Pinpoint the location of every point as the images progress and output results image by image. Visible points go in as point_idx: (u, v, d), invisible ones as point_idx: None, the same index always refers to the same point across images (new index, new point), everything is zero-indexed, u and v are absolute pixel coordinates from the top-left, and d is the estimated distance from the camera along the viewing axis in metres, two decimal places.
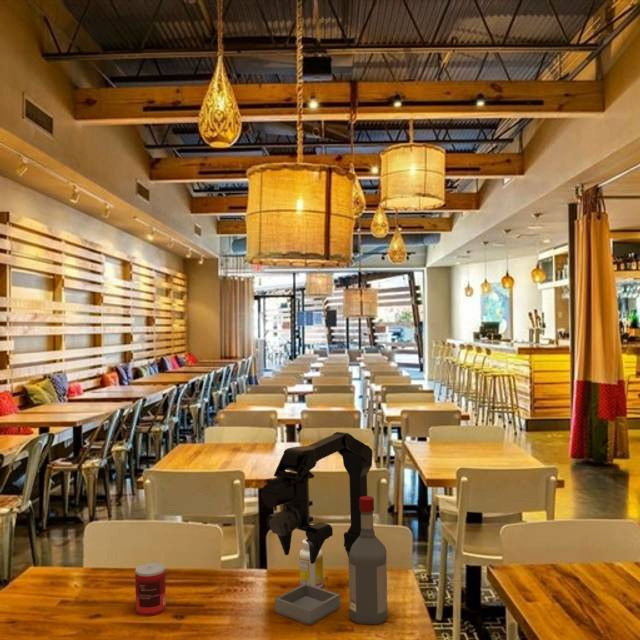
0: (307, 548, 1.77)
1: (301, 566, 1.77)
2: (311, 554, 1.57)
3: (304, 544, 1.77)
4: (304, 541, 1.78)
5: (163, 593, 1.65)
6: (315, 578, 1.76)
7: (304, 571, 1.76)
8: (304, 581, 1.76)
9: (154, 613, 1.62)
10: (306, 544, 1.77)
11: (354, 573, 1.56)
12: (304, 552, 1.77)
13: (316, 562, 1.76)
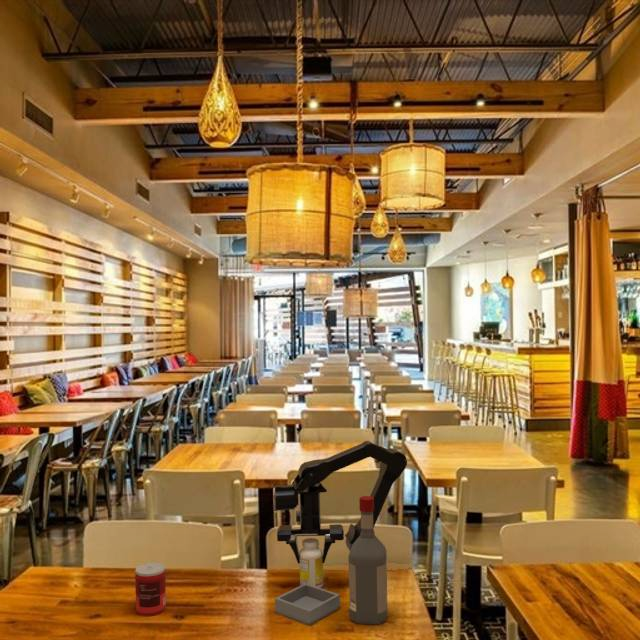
0: (307, 548, 1.77)
1: (301, 566, 1.77)
2: None
3: (304, 544, 1.77)
4: (304, 541, 1.78)
5: (163, 593, 1.65)
6: (315, 578, 1.76)
7: (304, 571, 1.76)
8: (304, 581, 1.76)
9: (154, 613, 1.62)
10: (306, 544, 1.77)
11: (354, 573, 1.56)
12: (304, 552, 1.77)
13: (316, 562, 1.76)
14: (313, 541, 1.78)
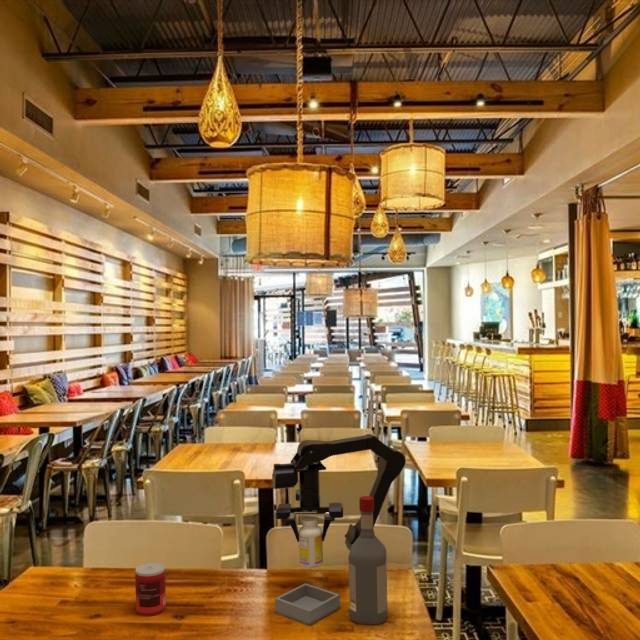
0: (306, 526, 1.76)
1: (300, 544, 1.76)
2: None
3: (303, 522, 1.77)
4: (303, 519, 1.78)
5: (163, 593, 1.65)
6: (314, 556, 1.75)
7: (303, 549, 1.75)
8: (303, 559, 1.75)
9: (154, 613, 1.62)
10: (305, 522, 1.76)
11: (354, 573, 1.56)
12: (303, 530, 1.76)
13: (315, 540, 1.75)
14: (312, 519, 1.77)
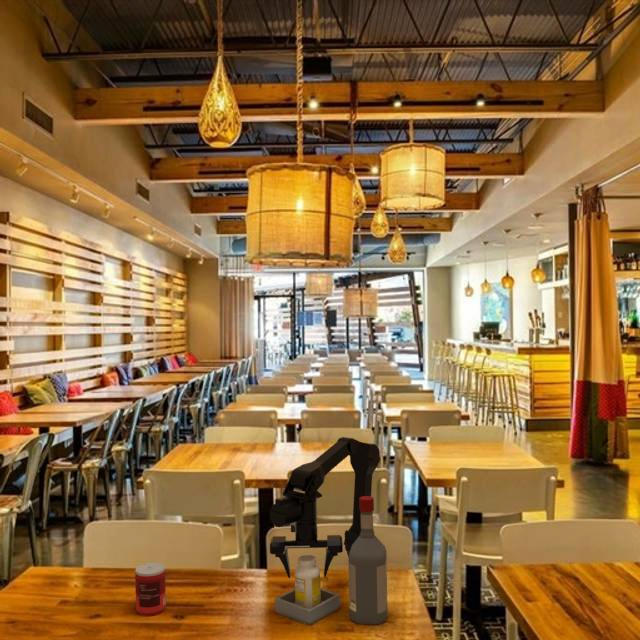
0: (303, 566, 1.62)
1: (297, 586, 1.62)
2: None
3: (300, 562, 1.62)
4: (300, 559, 1.64)
5: (163, 593, 1.65)
6: (312, 599, 1.61)
7: (300, 592, 1.61)
8: (300, 602, 1.61)
9: (154, 613, 1.62)
10: (302, 562, 1.62)
11: (354, 573, 1.56)
12: (300, 571, 1.62)
13: (313, 582, 1.61)
14: (310, 559, 1.63)
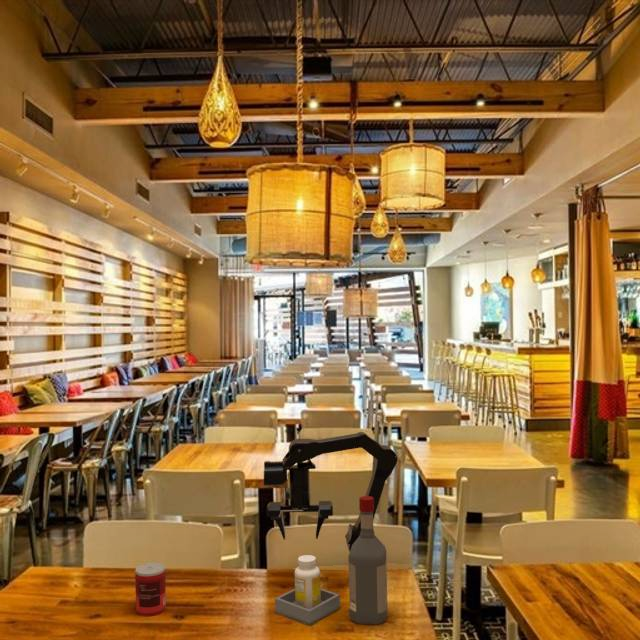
0: (303, 566, 1.62)
1: (297, 586, 1.62)
2: None
3: (300, 562, 1.62)
4: (300, 559, 1.64)
5: (163, 593, 1.65)
6: (312, 599, 1.61)
7: (300, 592, 1.61)
8: (300, 602, 1.61)
9: (154, 613, 1.62)
10: (302, 562, 1.62)
11: (354, 573, 1.56)
12: (300, 571, 1.62)
13: (313, 582, 1.61)
14: (310, 559, 1.63)
